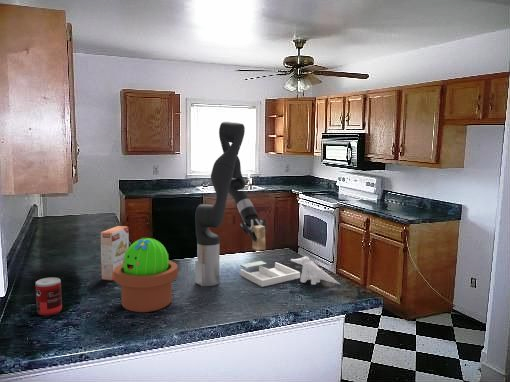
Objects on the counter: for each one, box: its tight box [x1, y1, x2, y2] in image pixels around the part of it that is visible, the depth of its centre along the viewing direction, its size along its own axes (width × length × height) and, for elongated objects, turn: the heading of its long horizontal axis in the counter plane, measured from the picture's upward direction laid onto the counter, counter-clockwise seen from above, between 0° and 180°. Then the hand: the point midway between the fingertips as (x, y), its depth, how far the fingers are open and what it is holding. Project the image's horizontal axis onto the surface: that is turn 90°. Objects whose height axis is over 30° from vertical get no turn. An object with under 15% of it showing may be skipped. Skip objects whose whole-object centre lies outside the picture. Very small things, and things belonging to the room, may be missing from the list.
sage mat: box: [240, 260, 267, 269], centre depth 196 cm, size 12×12×1 cm
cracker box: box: [100, 225, 130, 281], centre depth 181 cm, size 14×6×21 cm, turn 168°
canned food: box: [35, 277, 63, 317], centre depth 143 cm, size 8×8×11 cm
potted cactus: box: [113, 237, 179, 313], centre depth 150 cm, size 22×22×25 cm
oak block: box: [251, 225, 266, 252], centre depth 194 cm, size 4×4×11 cm
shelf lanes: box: [239, 261, 301, 287], centre depth 180 cm, size 20×17×4 cm
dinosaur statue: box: [290, 255, 341, 285], centre depth 172 cm, size 7×24×11 cm, turn 54°
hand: (260, 239), depth 193 cm, fingers closed on oak block, 4 cm apart
